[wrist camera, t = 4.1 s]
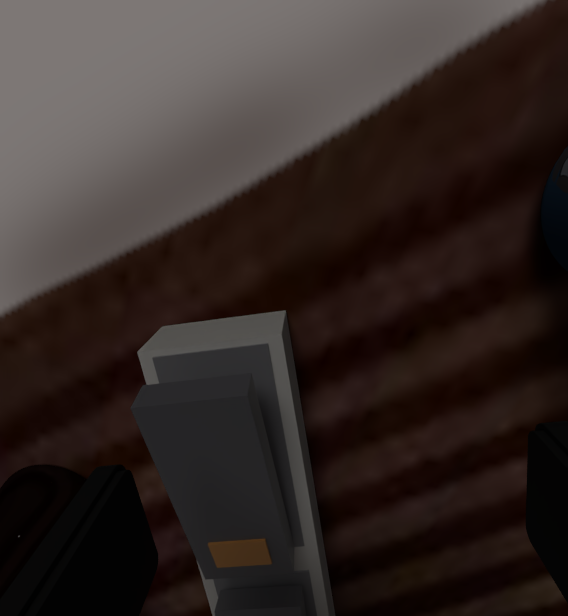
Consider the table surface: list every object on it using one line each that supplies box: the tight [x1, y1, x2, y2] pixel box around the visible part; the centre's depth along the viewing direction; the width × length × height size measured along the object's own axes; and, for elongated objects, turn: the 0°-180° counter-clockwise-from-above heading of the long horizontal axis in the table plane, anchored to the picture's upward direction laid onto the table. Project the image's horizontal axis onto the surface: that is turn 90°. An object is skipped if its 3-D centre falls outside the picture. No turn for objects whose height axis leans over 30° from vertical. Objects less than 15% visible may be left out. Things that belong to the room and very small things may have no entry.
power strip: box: [137, 310, 335, 616], centre depth 21 cm, size 23×6×3 cm, turn 9°
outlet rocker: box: [131, 373, 294, 580], centre depth 16 cm, size 4×10×1 cm, turn 9°
